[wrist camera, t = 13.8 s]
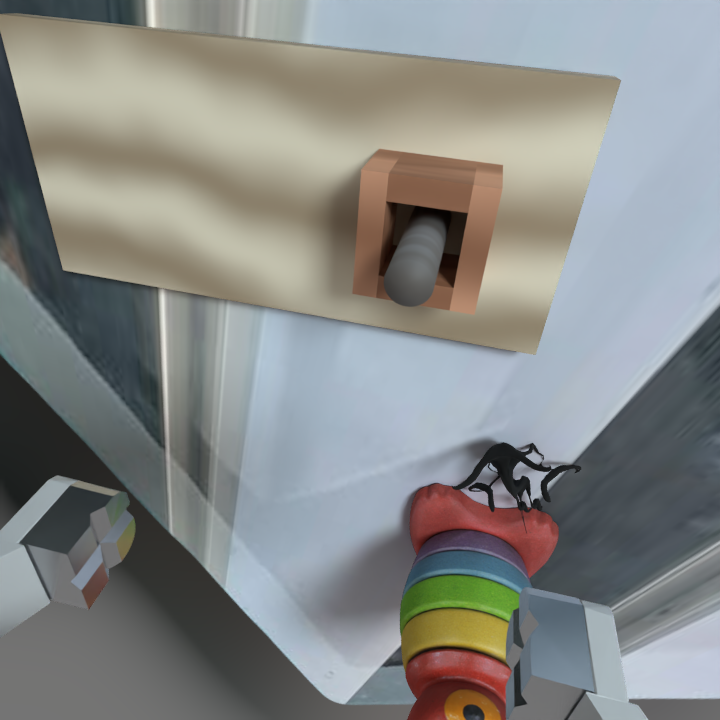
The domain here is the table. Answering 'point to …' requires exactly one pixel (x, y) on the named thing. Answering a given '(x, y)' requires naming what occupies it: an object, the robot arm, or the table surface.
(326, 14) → the table surface
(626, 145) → the table surface
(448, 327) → the board
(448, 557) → the stacking bear
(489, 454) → the creature
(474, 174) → the bead
